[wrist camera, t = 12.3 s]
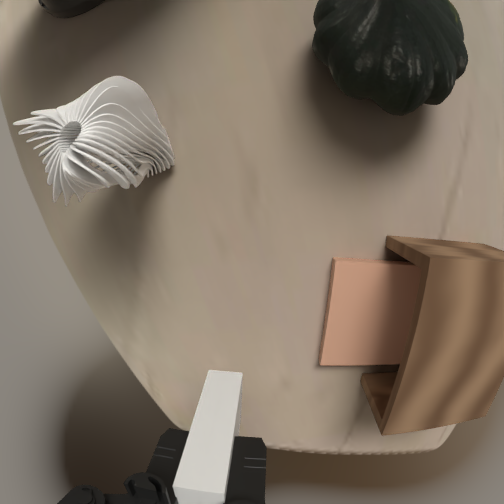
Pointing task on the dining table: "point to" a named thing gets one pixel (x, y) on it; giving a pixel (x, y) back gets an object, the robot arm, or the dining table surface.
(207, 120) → the dining table surface
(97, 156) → the shell sculpture
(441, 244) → the shelf
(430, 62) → the squash
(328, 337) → the tile
